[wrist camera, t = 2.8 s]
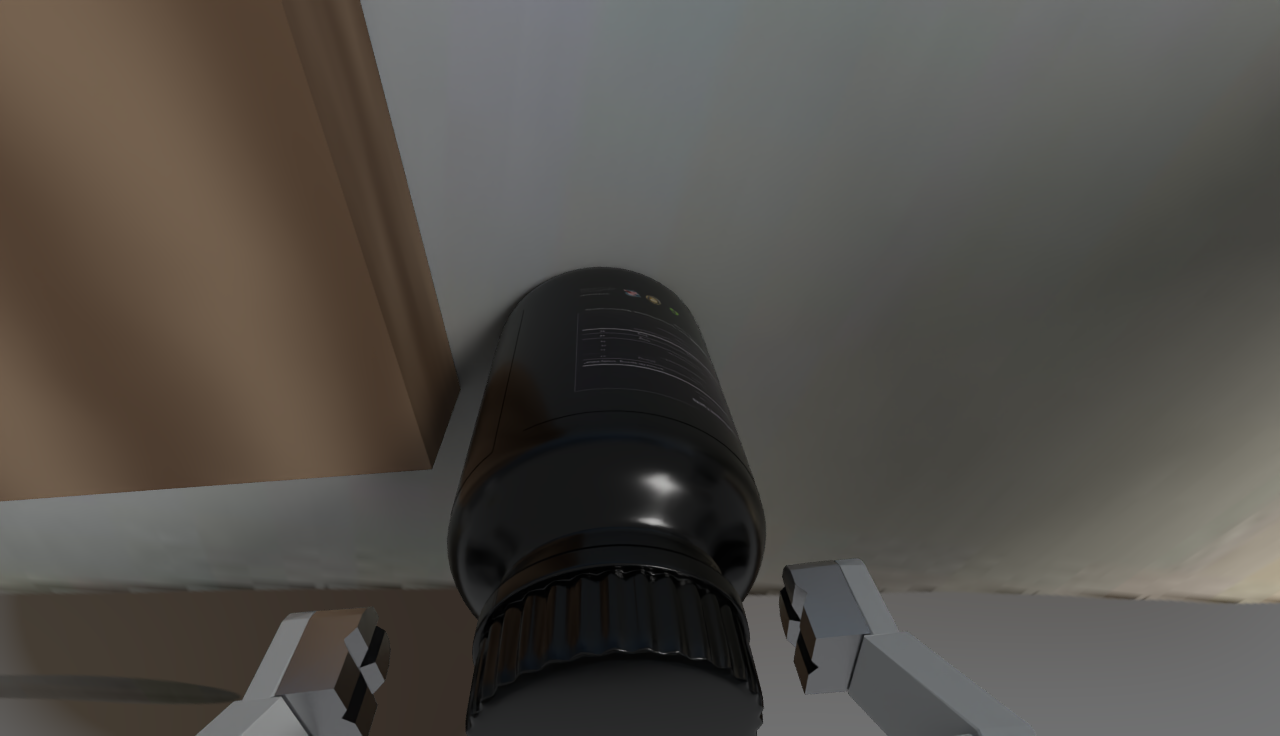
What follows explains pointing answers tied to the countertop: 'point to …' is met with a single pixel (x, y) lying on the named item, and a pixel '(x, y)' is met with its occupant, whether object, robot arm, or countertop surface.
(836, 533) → the countertop surface
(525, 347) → the supplement bottle
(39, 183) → the walnut base
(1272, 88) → the countertop surface
